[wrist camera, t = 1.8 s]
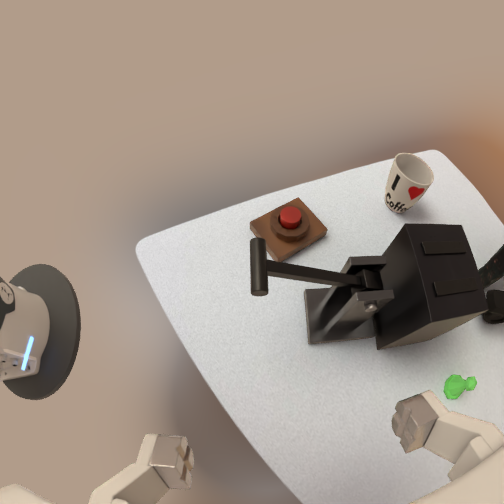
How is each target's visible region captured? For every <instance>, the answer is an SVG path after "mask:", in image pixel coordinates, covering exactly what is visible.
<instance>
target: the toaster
mask: <svg viewBox="0 0 504 504" xmlns="http://www.w3.org/2000/svg"><path fill="white" fill-rule="evenodd" d="M382 256H385V257H386V261H387V264H386V265H385V266H384V268H383V269H382V270H381V271H380V274H381V279H382V283H383V288H384V290H390V289H393V292H394V297H395V298H394V299H393V300H391V301H390V302H389V303H388V304H387V305H385V306H384V307H383V308H382V309H380V310H379V311H378V312H377V313H376V314H374V315H373V322H374V329H375V336H376V344H377V350H380V349H386V348H392V347H398V346H403V345H408V344H414V343H418V342H423V341H428V340H431V339H433V338H435V337H437V336H439V335H442V334H444V333H446V332H448V331H450V330H452V329H454V328H456V327H458V326H460V325H462V324H464V323H466V322H468V321H469V320H471V319H473V318H475V317H477V316H479V315H480V314H482V313H484V312H486V311H487V310H489V309H488V305H487V301H486V297H485V293H484V289H483V286H482V282H481V279H480V275H479V272H478V269H477V266H476V263H475V260H474V257H473V254H472V251H471V248H470V246H469V243H468V240H467V238H466V235H465V233H464V230H463V228H462V225H447V224H404V226H403V227H402V229H401V230H400V232H399V233H398V234H397V236H396V237H395V239H394V240H393V241H392V243H391V244H390V245H389V247H388V248H387V250H386V251H385V252H384V254H383V255H382Z"/></svg>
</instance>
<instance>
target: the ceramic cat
mask: <svg viewBox="0 0 504 504" xmlns="http://www.w3.org/2000/svg"><path fill="white" fill-rule="evenodd" d="M478 272H479V275H480V279H481V282H482V286H483V289H484V288H486V287H488V286H489V285H491V284H493V283H494V282H496V281H497V280H499V279H500V278H502V277H503V276H504V244H503V246H502V247H501V248H500V249H499V250H498V251H497V252H496V253H495V255H494V256H493V257H492V258H491V259H490V260H489V261H488V262H487V263H486V264H485V265H484V266H483V267H482V268H480V269H479V270H478Z"/></svg>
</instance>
